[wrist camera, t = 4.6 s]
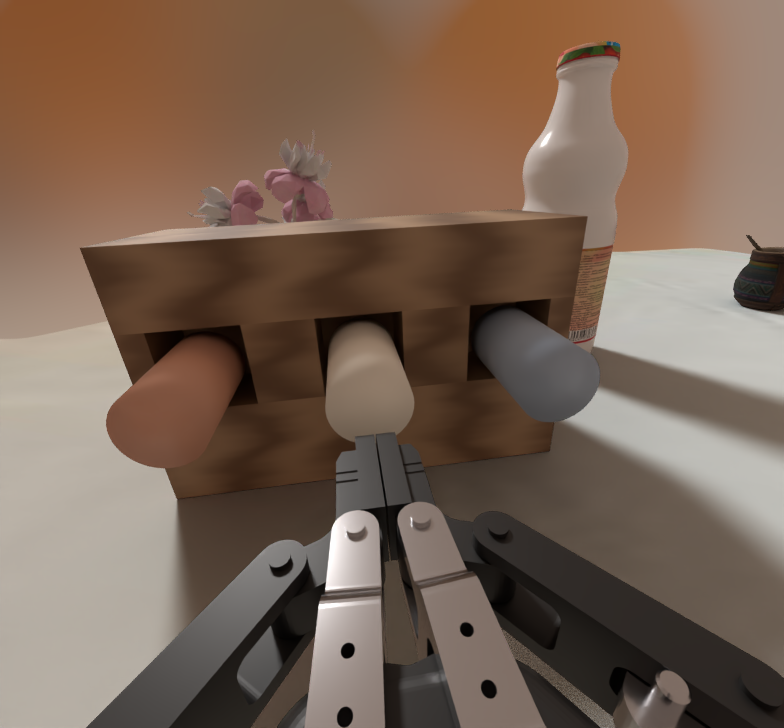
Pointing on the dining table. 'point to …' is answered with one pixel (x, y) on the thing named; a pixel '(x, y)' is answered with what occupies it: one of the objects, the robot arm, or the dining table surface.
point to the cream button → (366, 382)
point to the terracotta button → (177, 402)
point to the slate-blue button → (535, 363)
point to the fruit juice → (582, 171)
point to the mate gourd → (762, 279)
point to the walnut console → (327, 312)
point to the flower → (275, 192)
